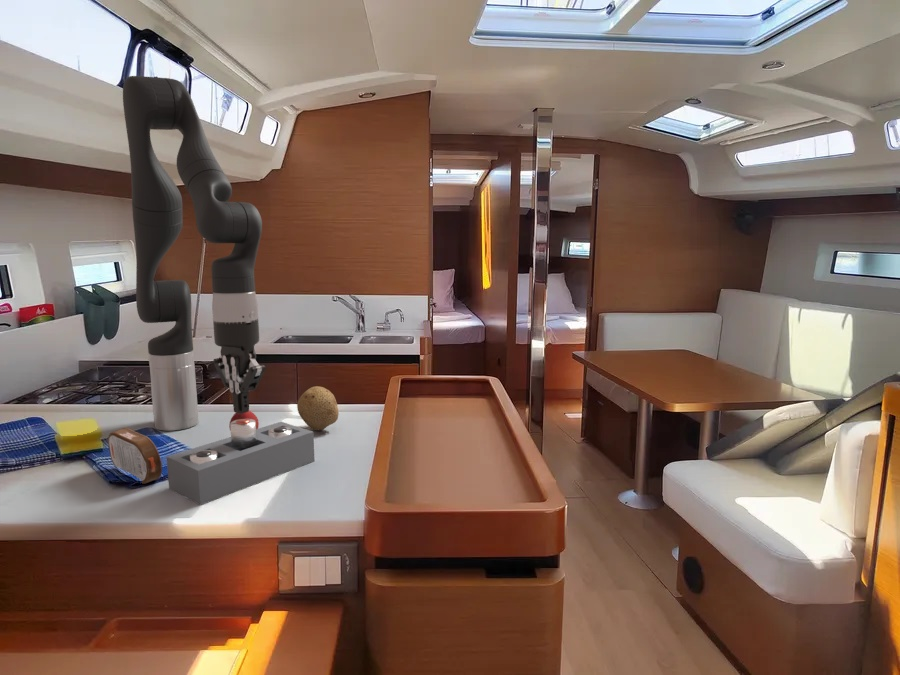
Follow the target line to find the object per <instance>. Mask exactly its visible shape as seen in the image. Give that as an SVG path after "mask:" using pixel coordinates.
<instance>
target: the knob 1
mask: <svg viewBox="0 0 900 675" xmlns="http://www.w3.org/2000/svg"><path fill="white" fill-rule="evenodd" d="M217 458H218V455H217V452H216V451H213V450H203V451H198V452H195V453H193V454H191V455H190V462H192V463H195V464H197V465H199V464H202V463H205V462H208V461H211V460H214V459H217Z"/></svg>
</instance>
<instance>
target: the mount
mask: <svg viewBox="0 0 900 675" xmlns="http://www.w3.org/2000/svg"><path fill="white" fill-rule="evenodd" d="M276 427H289V428H291V429H292V434H290V435H287V436H284V437H281V438H278V439H277V438H274V437H271V436H269V434H268V431H269V430H270V429H272V428H276ZM314 436H315V435H314V430H313V431H312V430H309V429H306V428H304V427H303V428H302V427H299V426H296V425H293V424H290V423H287V422H283V421H278V422H276V423H273V424H269V425H266V426H262V427H260V428H259V427H258V429H256V437H257V443H256V444H255V445H253V446H250V447H245V448H236V447H233V446H232V445H231V436H230V437H226V438H223V439H219V440H216V441H213V442H209V443H205V444H203V445H199V446H197V447H196V446H195V447H193V448H190V449H187V450H183V451H181V452H178V453H174V454H171V455H166V458H165V459H166V465H167V466H166V467H167V468H166V470H167V480H168V481H167V482H168V489H169V490H170V491H172V492H174V493H176V494H177V495H180V496H182V497H183V498H186V499H188V500H190V501H192V502H193V503H195V504H198V505H200V506H202V505H204V504H208V503H209V502H213V501H214V500H218V499H220V498H223V497H226V496H228V495H230V494H233V493H235V492H238V491H241V490H243V489H246V488H248V487H251V486H253V485H257V484H259V483H261V482H264V481H266V480H269V479H272V478H275V477H276V476H280V475H281V474H285V473H287V472H290V471H292V470H295V469H297V468H301V467H304V466H305V465H307V464H311V463H313V462H315V443H314V442H315V441H314V438H315V437H314ZM203 450H213V451H216V452H217V455H218V458H217V459H214V460H211V461H208V462H205V463H202V464H199V465H197V464H195V463H192V462H190V455H191V454H193V453H195V452H198V451H203Z"/></svg>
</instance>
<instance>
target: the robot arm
mask: <svg viewBox="0 0 900 675" xmlns="http://www.w3.org/2000/svg"><path fill="white" fill-rule="evenodd" d="M122 85H123V86H122V103H123V105H122V106H123V112H124V120H125V122H124V123H125V130H126V136H127V142H128V143H127V144H128V150H129V161H130V174H131V175H130V176H131V178H130V179H131V180H130V181H131V207H132V208H131V210H132V211H131V212H132V220H133V232H134V242H135V254H136V255H135V256H136V264H135V265H136V270H135V271H136V273H135V274H136V278H135V280H136V281H135V282H136V283H135V284H136V286H135V288H136V289H135V291H136V292H135V293H136V294H135V298H136V301H135V302H136V309H137V310H136V311H137V315H138V316H139V319H140V320H141V321H142V322H143V323H147V324H155V323H156V324H157V323H169V322H175V325H174V326H173V327H172V328H171V329H170V330H168V331H167V332H165V333H162V334H160V335H158V336H155V337H153V338H151V339H150V340H149V341H148V343H147V350H148V351H147V352H148V364H149V373H150V383H151V384H150V390H151V402H152V412H153V424H154V428H155V429H157V430H160V431H169V432H170V431H179V430H184V429H189V428H193V427H194V426H196V425H198V424H199V422H200V420H199V408H198V407H199V406H198V395H197V382H196V379H197V378H196V368H195V366H196V365H195V352H194V341H193V331H192V330H193V329H192V327H193V326H192V295H191V289H190V286H189V284H188V283H187V281H185V280H183V279H173V280H170V279H169V280H155V275H156V272H157V269H158V268H159V265H160V263H161V261H162V260H163V258H164V256H165V255H166V254H167V253H168V251H169V250H170V249H171V248H172V246H173V245H174V243H175V242H176V240H177V239H178V238H179V236H180V234H181V232H182V230H183V222H184V221H183V218H184V217H183V198H182V194H181V191H180V190H179V188H178V186H177V185H176V183H175V181H174V180H173V179H172V177H171V176H170V175H169V174H168V172H167V171H166V170H165V168H164V166H163V165H162V163H161V162H160V161H159V159H158V157H157V155H156V153H155V150H154V148H153V144H152V141H151V140H152V139H151V130H157V131H159V130H160V131H161V130H162V131H168V130H170V131H171V130H172V131H174V130H177V131H179V132H180V133H181V134H182V141H181V144H180V146H179V149H178V152H177V155H176V169H177V173H178V175H179V177H180V179H181V181H182V184H183V185H184V187H185V188H186V190H187V192H188V193H189V194H188V195H190V198H191V201H192V205H193V211H194V217H195V222H196V223H195V224H196V229H197V231H198V233H199V235H200V236H201V237H202V238H203V239H204V240H205V241H207V242H209V243H212V244H234V245H233V248H232V251H231V252H230V254H229V255H226V256H222V257H219V258H216V259H214V260H213V261H212V262H211V269H210V272H211V285H212V288H211V289H212V302H211V304H212V305H211V307H212V311H211V312H212V321H213V322H212V323H213V325H212V326H213V336H214V337H213V338H214V344H215V345H216V346H218V347H221V348H220V352H219V353H220V356H219V357H218V358H213V361H212V362H213V364H214V367H215V369H216V372H217V373H218V375H219V378H220V380H221V382H222V384H223V386H224V388H225V389H226V388H228V389H229V391H230V393H231V394H232V405H233V406H232V408H233V412H234V413H239V414H242V413H246V412H248V411H250V396H249V393H250V392H251V391H255V390H257V388H258V386H259V384H260V382H261V380H262V377H263V376H264V374H265V371H266V366H265V365H264V364H259V363H258V362H257V353H256V351H255V346H256V345H257V344H258V343H259V342H260V325H259V308H258V306H259V305H258V301H257V294H256V285H255V284H256V282H255V266H256V260H257V255H258V250H259V246H260V242H261V237H262V232H263V220H262V219H263V218H262V217H261V214H260V212H259V210H258V208H257V207H256V206H255V205H254V204H252V203H250V202H246V201H245V202H244V201H229V200H230V199H231V197H232V194H233V188H232V187H233V186H232V185H231V182H230V180H229V179H228V177H227V175H226V174H225V172H224V170H223V168H222V167H221V165H220V164H219V162H218V160H217V159H216V157H215V155H214V153H213V151H212V149H211V147H210V146H211V145H209V142H208V140H207V136H206V133H205V130H204V128H203V125H202V124H203V123H202V122H201V119H200V116H199V115H198V112H197V110H196V106H195V105H194V101H193V99H192V96H191V95H190V92H189V91H188V89H187V87H186V86H185V85H184V84H183V83H182V82H181V81H179V80H178V79H175V78H170V77H155V76H143V75H129V76H128V77H126V78H125V80H124V82H123V84H122Z"/></svg>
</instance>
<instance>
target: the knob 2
mask: <svg viewBox="0 0 900 675" xmlns="http://www.w3.org/2000/svg"><path fill="white" fill-rule="evenodd" d="M268 434H269V436H271V437H274V438H277V439H278V438H281V437H284V436H287V435H290V434H292V429H291V428H289V427H276V428H272V429H270V430H269V431H268Z"/></svg>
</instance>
